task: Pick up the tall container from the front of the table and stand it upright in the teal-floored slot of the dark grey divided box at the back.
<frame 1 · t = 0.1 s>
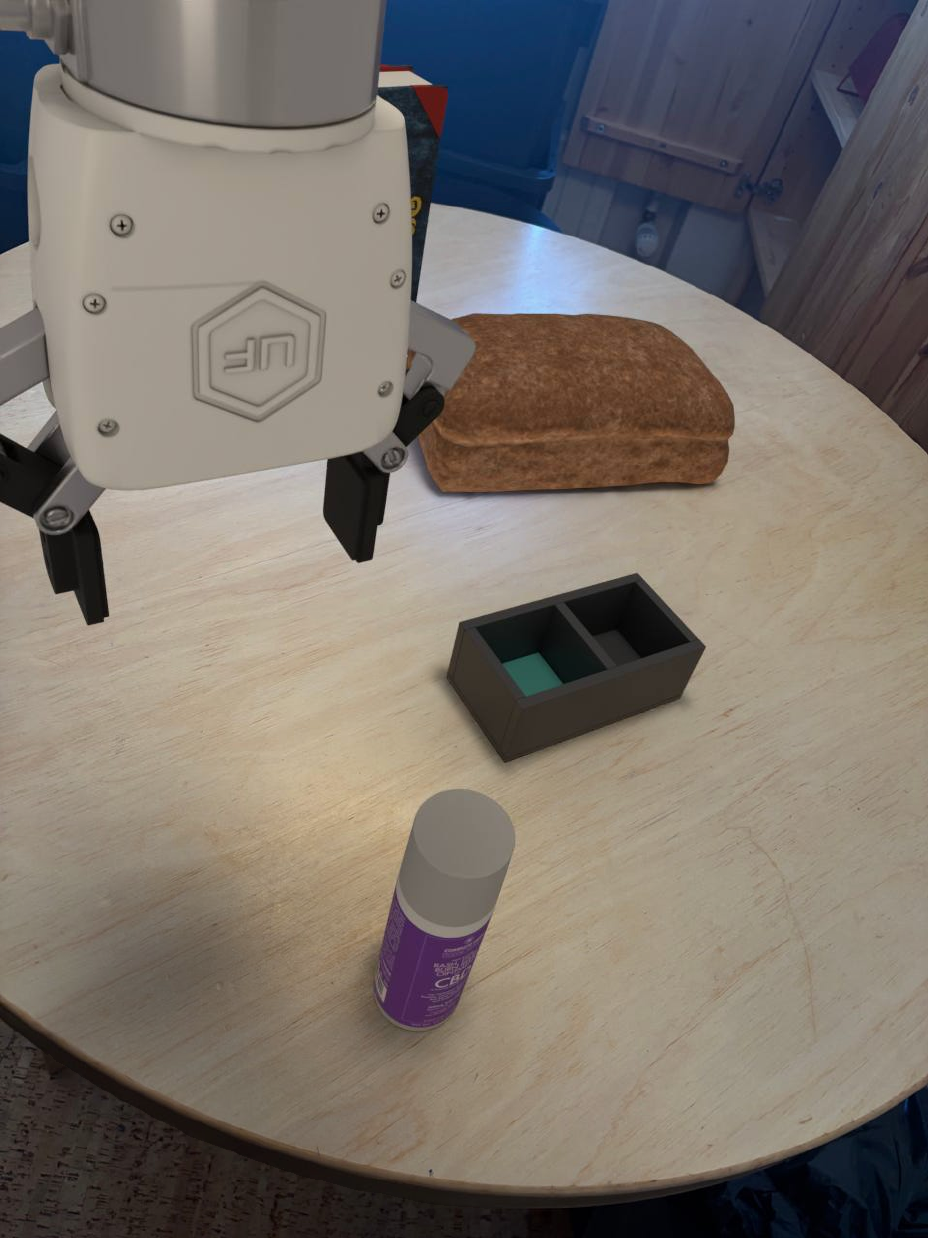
hand: (225, 566, 34), 25 cm above the table, tool pointing down, fingers open, 9 cm apart
book: (294, 353, 95), on the table
dark grey divided box: (565, 687, 68), on the table
bread: (553, 443, 91), on the table
container: (416, 989, 51), on the table
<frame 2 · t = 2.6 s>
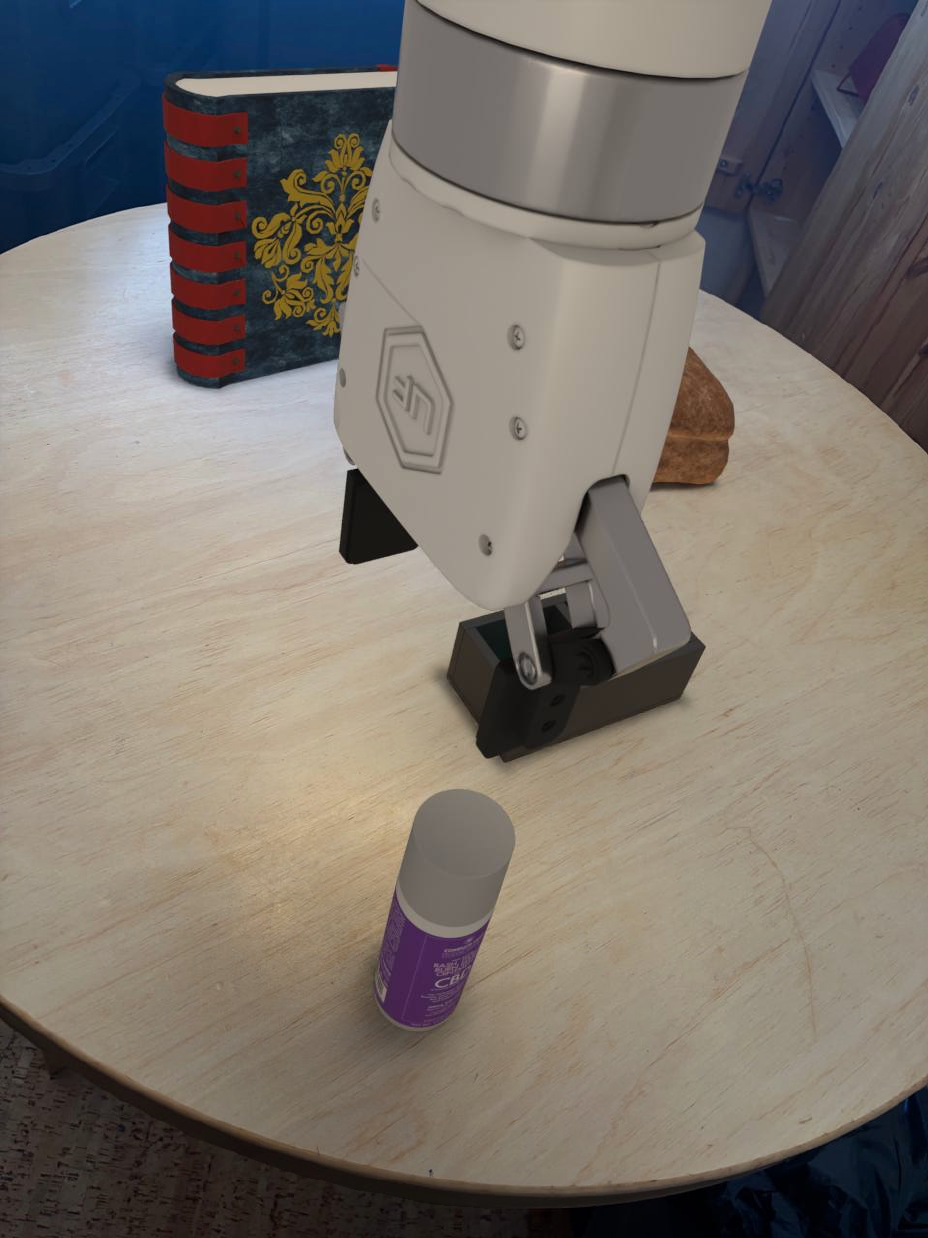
hand: (443, 638, 33), 26 cm above the table, tool pointing down, fingers open, 9 cm apart
nothing on the table moved.
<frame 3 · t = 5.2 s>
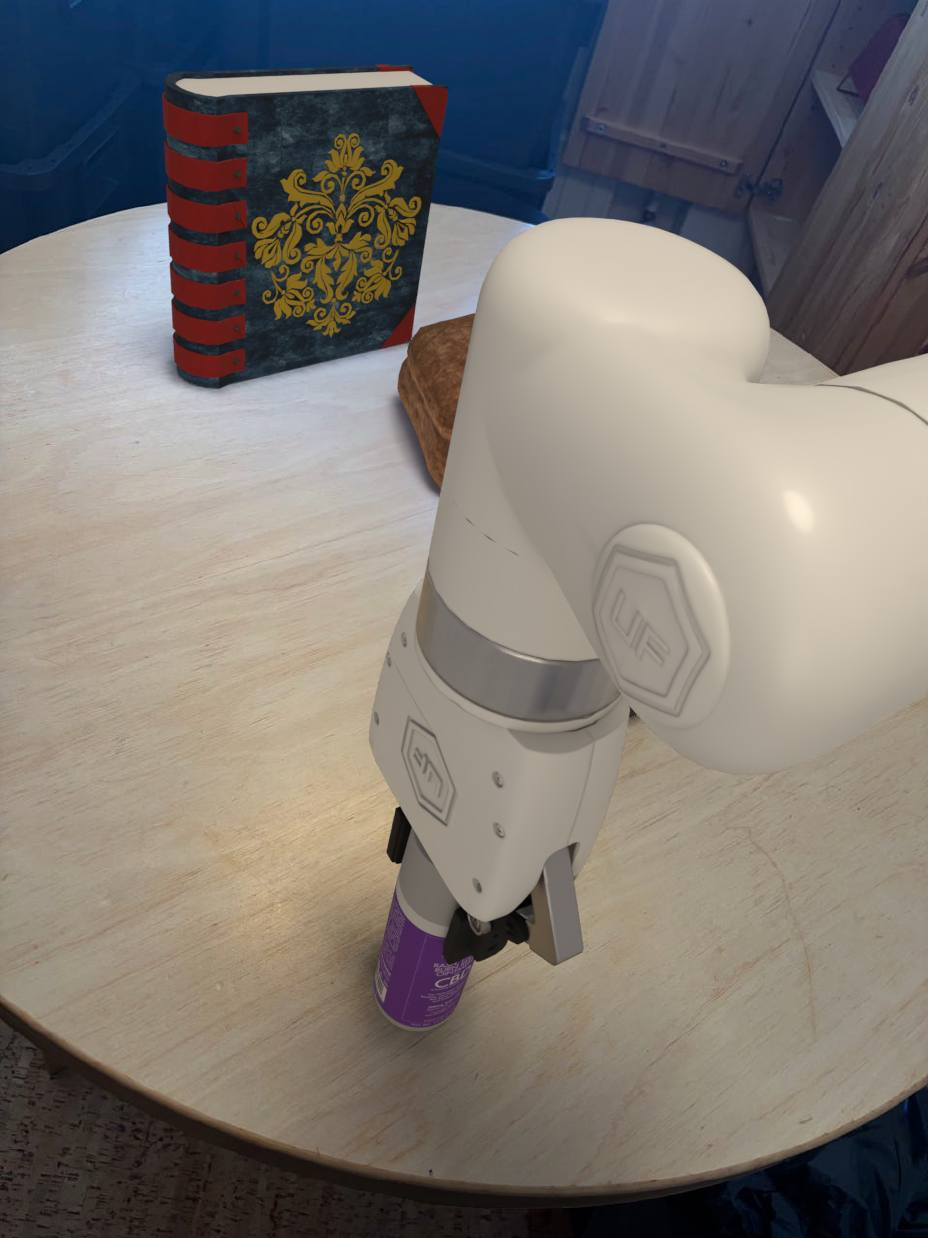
hand: (445, 894, 44), 10 cm above the table, tool pointing down, fingers closed on container, 4 cm apart
container: (416, 989, 51), on the table, touching gripper
everything else where it was.
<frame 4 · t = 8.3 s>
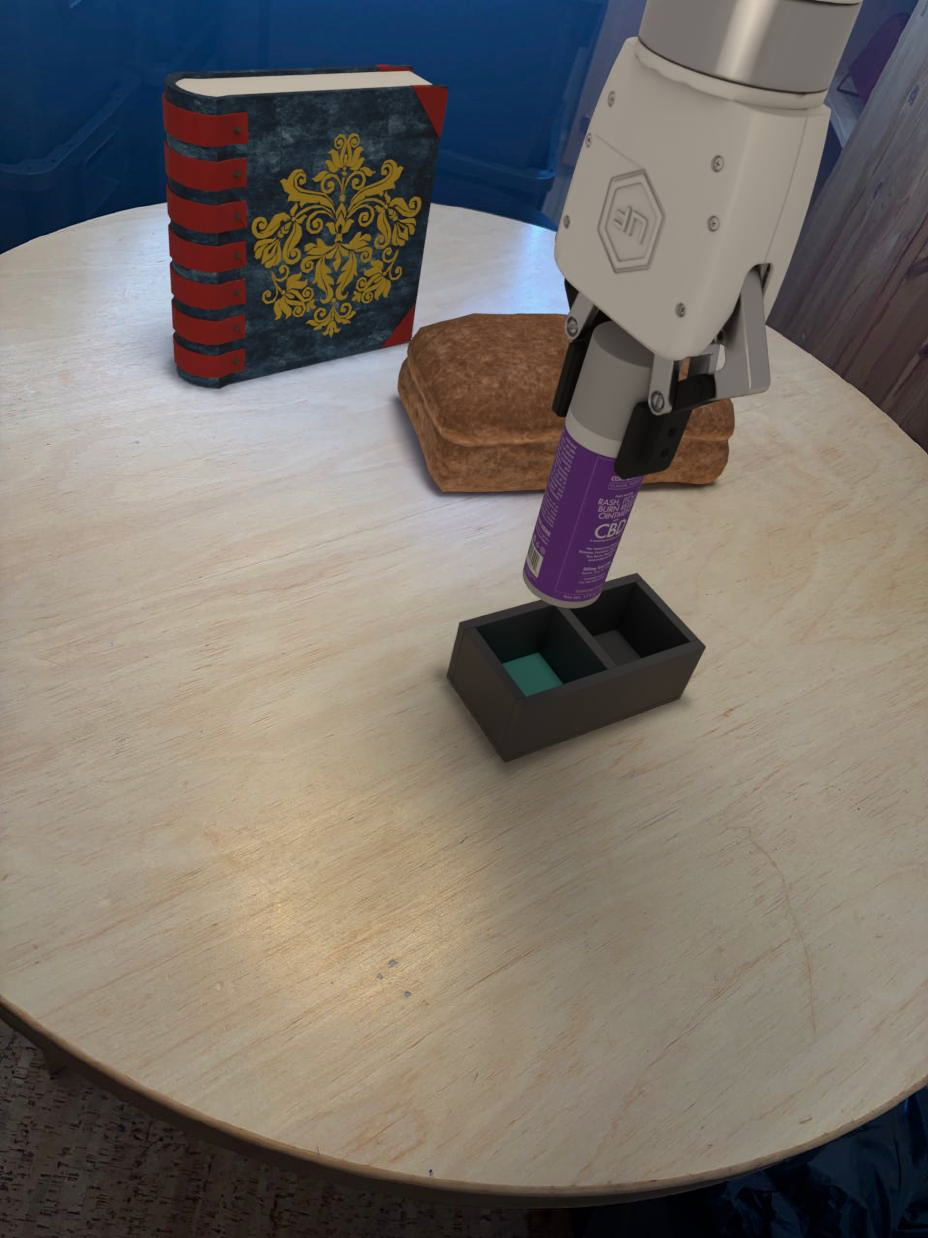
hand: (609, 437, 48), 24 cm above the table, tool pointing down, fingers closed on container, 4 cm apart
container: (561, 583, 55), point 14 cm above the table, touching gripper
everything else where it was.
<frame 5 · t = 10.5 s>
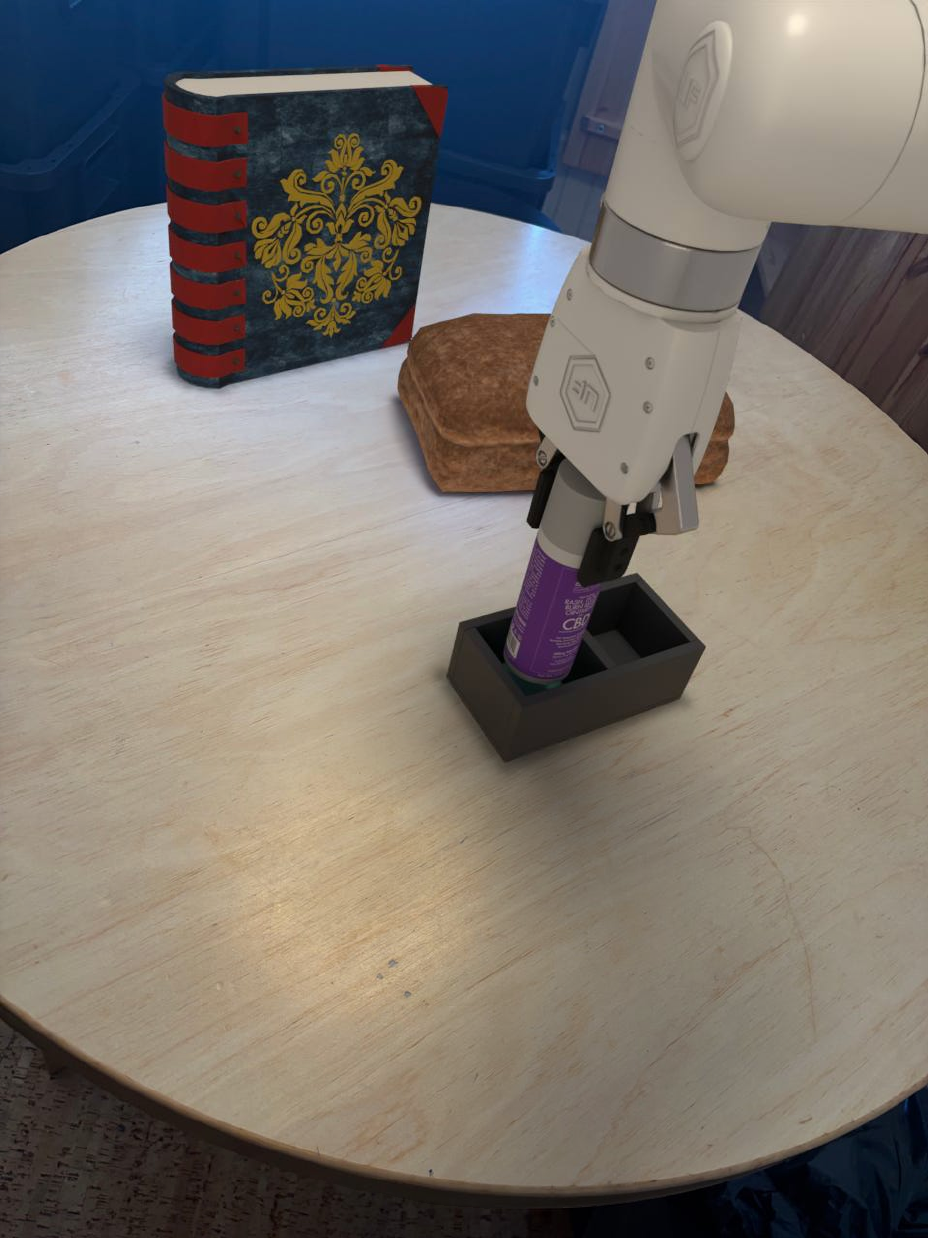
hand: (574, 547, 57), 14 cm above the table, tool pointing down, fingers closed on container, 4 cm apart
container: (536, 660, 64), point 4 cm above the table, touching gripper
everything else where it was.
when the fingers open (10 cm above the table, at t = 11.9 s): container stays where it is, resting on dark grey divided box.
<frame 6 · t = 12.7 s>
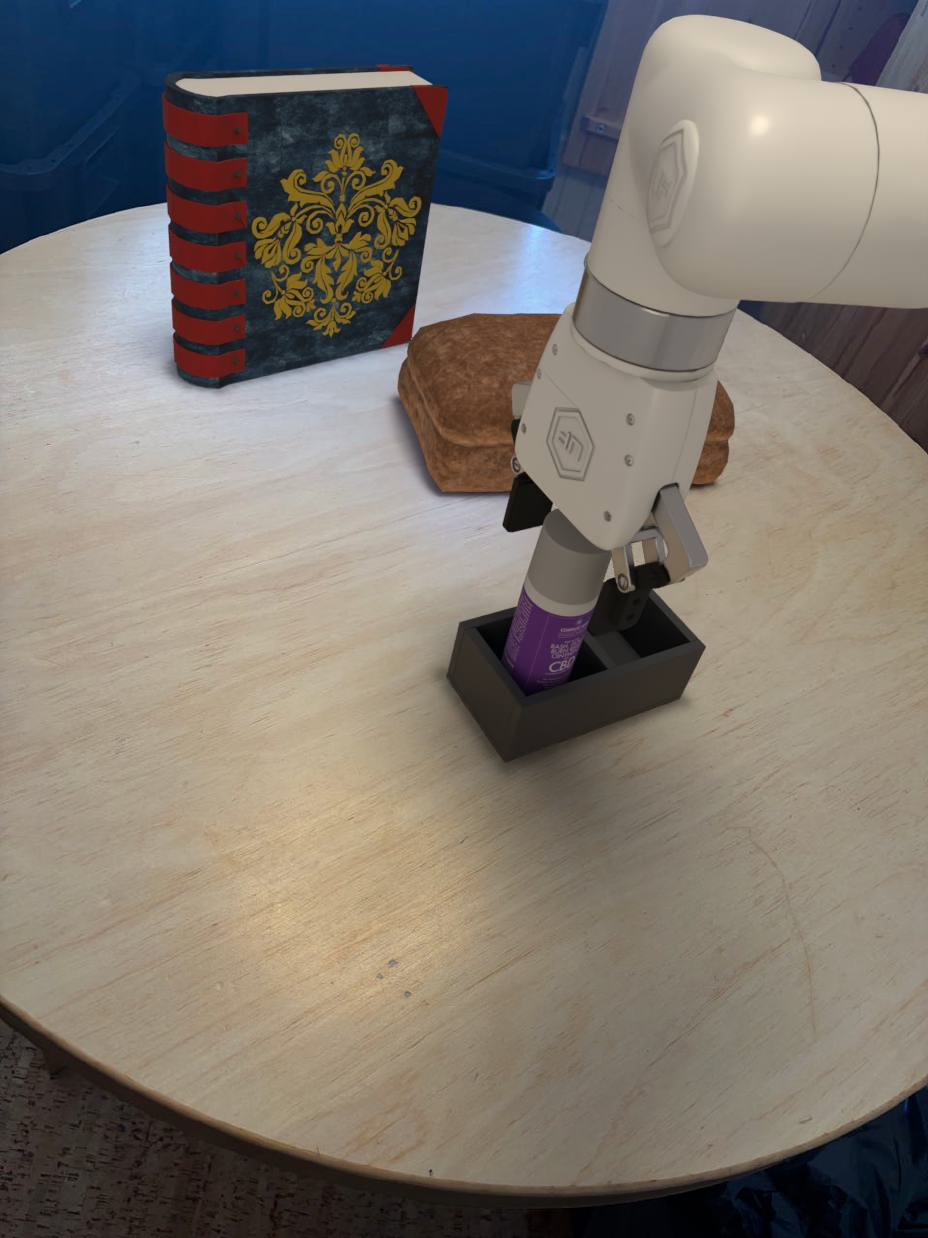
hand: (565, 574, 58), 12 cm above the table, tool pointing down, fingers open, 9 cm apart
container: (524, 698, 66), point 1 cm above the table, touching dark grey divided box
everything else where it was.
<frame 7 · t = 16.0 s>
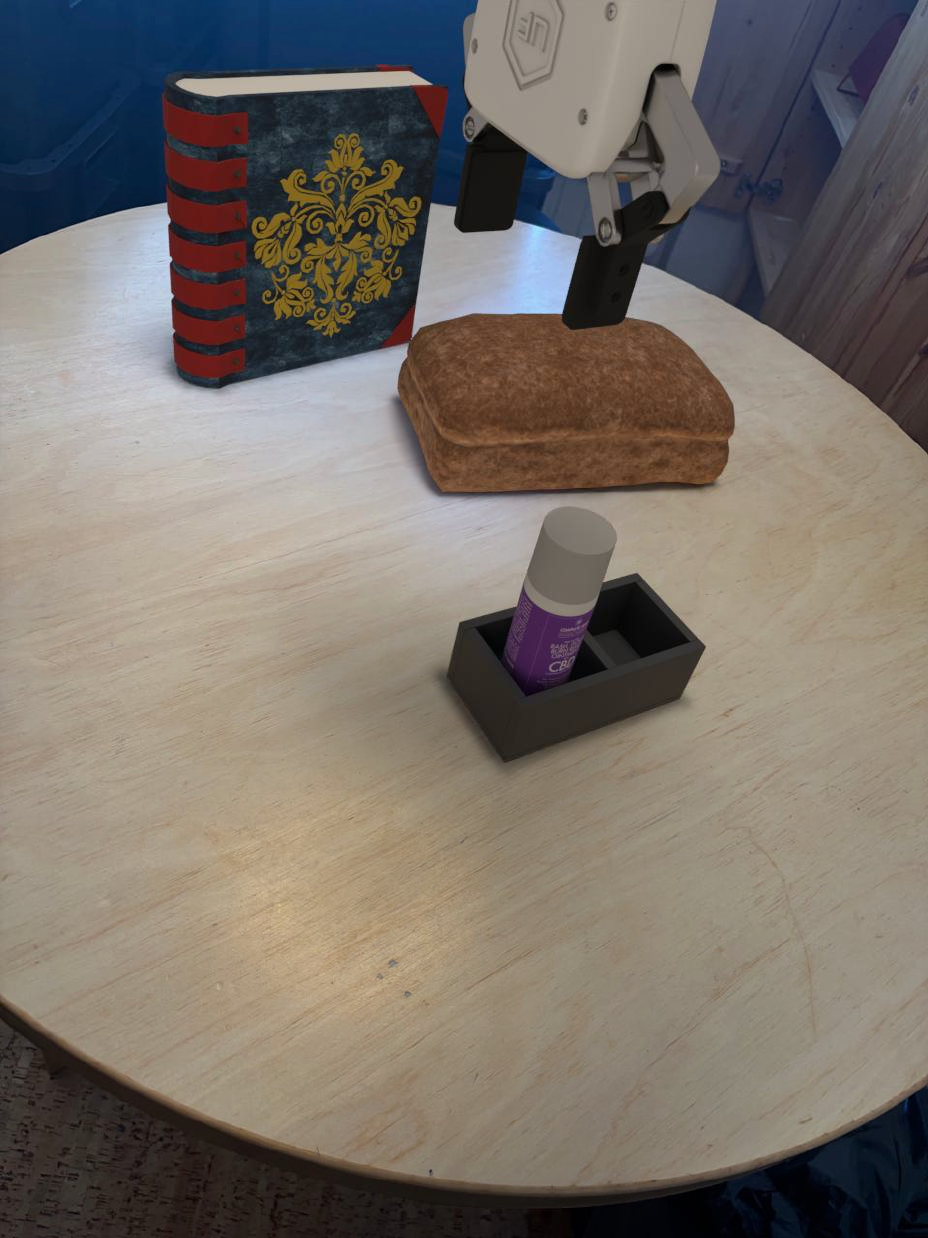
hand: (533, 273, 45), 30 cm above the table, tool pointing down, fingers open, 9 cm apart
nothing on the table moved.
at the end: container 0.1 cm from the target spot in the dark grey divided box, point 0.5 cm above the dark grey divided box's base; container tilted 0°; the gripper is holding nothing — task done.
